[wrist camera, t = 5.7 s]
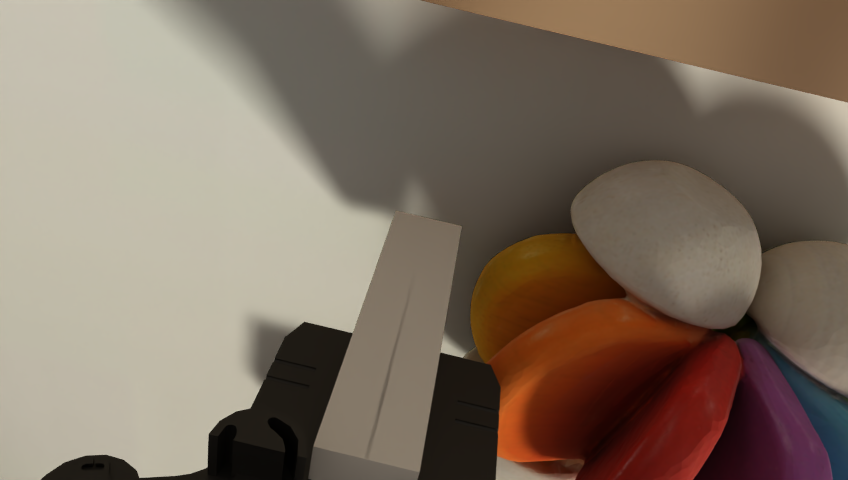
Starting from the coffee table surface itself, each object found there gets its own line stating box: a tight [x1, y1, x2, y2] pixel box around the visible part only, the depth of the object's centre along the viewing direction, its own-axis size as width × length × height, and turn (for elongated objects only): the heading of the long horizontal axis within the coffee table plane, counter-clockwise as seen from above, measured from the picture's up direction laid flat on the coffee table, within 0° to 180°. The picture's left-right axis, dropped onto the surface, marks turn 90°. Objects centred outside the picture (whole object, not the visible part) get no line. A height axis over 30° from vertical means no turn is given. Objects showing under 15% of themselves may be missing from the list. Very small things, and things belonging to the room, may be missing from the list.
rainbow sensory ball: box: [463, 160, 848, 480], centre depth 14 cm, size 8×10×7 cm
